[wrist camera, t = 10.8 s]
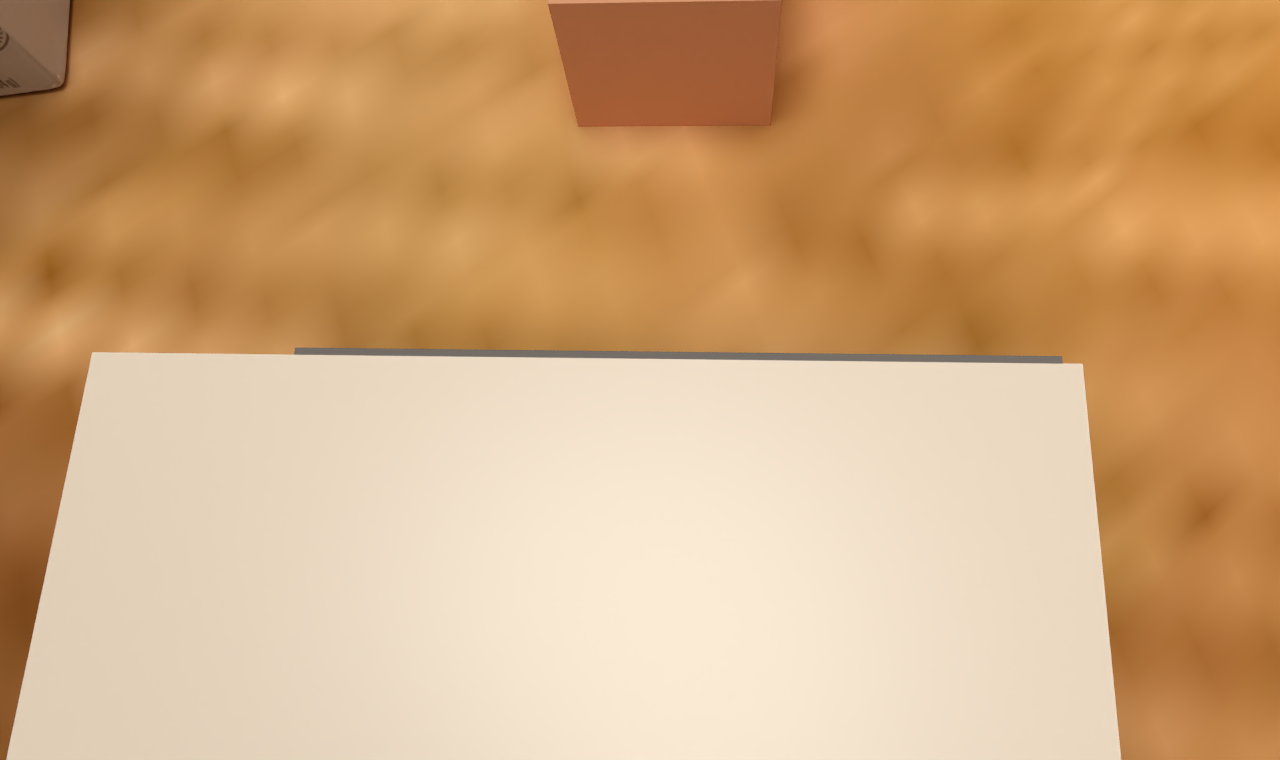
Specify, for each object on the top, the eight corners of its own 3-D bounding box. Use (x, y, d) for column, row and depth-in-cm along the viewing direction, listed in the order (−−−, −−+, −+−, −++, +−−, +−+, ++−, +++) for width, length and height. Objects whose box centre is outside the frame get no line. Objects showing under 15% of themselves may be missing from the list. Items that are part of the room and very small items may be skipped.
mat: (1122, 1291, 15) (1149, 1333, 14) (197, 1211, 16) (164, 1245, 15) (1044, 373, 19) (1062, 356, 18) (315, 363, 20) (294, 347, 19)
